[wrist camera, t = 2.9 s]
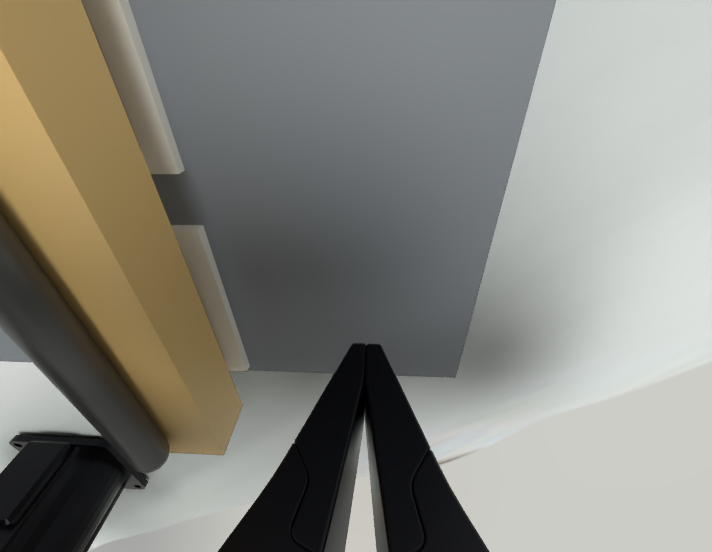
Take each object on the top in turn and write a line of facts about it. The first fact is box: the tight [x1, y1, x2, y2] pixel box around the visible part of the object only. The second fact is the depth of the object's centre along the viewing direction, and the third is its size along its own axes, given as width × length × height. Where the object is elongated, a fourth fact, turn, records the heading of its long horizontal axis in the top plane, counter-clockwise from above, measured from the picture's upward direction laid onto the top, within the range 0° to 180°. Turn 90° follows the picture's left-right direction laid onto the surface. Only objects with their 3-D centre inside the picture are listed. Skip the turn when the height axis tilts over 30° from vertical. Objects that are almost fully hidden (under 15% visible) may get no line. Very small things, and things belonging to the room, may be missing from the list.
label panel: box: [0, 0, 556, 378], centre depth 8 cm, size 19×20×2 cm
